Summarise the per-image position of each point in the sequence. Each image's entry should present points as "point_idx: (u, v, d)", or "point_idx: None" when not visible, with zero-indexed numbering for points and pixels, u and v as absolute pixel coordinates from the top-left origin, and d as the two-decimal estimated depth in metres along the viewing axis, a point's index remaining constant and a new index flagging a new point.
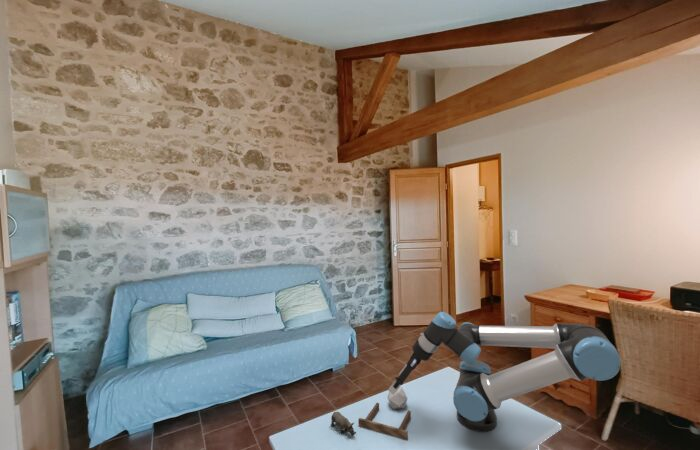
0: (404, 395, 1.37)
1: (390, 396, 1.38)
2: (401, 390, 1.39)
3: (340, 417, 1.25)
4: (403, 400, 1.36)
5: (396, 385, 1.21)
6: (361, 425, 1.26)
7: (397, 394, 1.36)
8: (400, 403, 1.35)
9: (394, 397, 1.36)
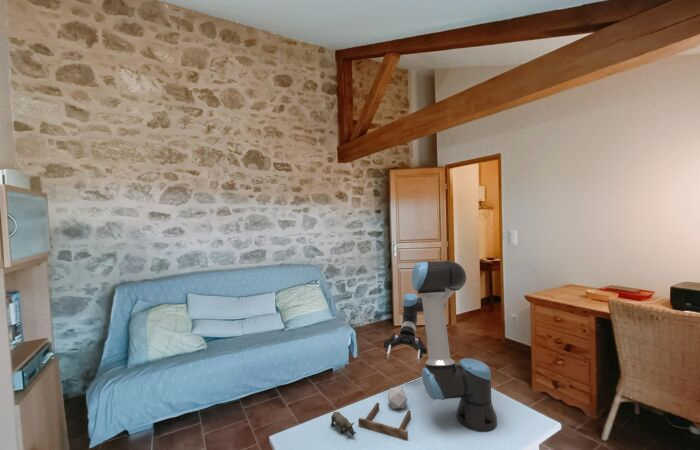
0: (404, 395, 1.37)
1: (390, 396, 1.38)
2: (401, 390, 1.39)
3: (340, 417, 1.25)
4: (403, 400, 1.36)
5: (386, 348, 1.50)
6: (361, 425, 1.26)
7: (397, 394, 1.36)
8: (400, 403, 1.35)
9: (394, 397, 1.36)
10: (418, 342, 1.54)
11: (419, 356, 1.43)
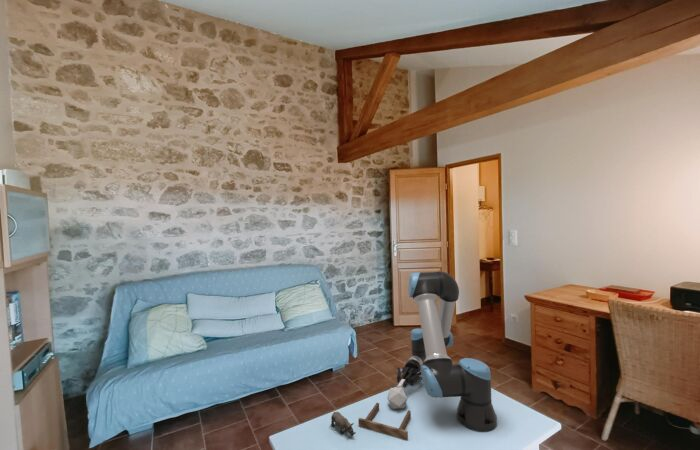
0: (404, 395, 1.37)
1: (390, 396, 1.37)
2: (401, 390, 1.39)
3: (340, 417, 1.25)
4: (403, 400, 1.36)
5: None
6: (361, 425, 1.26)
7: (397, 394, 1.36)
8: (400, 403, 1.35)
9: (394, 397, 1.36)
10: None
11: (402, 384, 1.45)
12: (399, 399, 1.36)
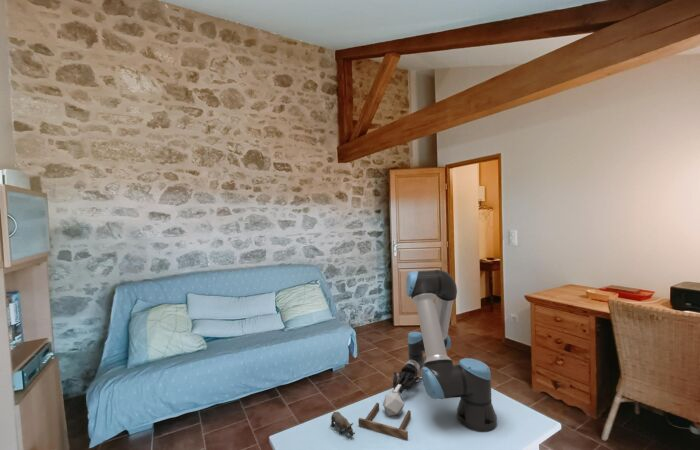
0: (401, 401, 1.33)
1: (387, 403, 1.32)
2: (397, 396, 1.35)
3: (339, 417, 1.25)
4: (400, 406, 1.32)
5: None
6: (361, 425, 1.26)
7: (394, 400, 1.32)
8: (397, 409, 1.31)
9: (391, 404, 1.32)
10: None
11: (398, 390, 1.40)
12: (396, 405, 1.31)
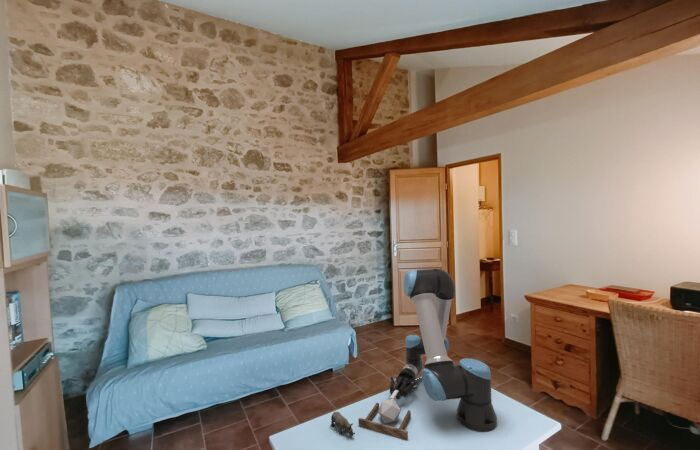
0: (397, 407, 1.29)
1: (383, 410, 1.28)
2: (393, 402, 1.30)
3: (339, 417, 1.25)
4: (397, 412, 1.28)
5: None
6: (361, 425, 1.26)
7: (391, 407, 1.27)
8: (394, 416, 1.26)
9: (388, 411, 1.27)
10: None
11: (395, 396, 1.35)
12: (393, 412, 1.27)
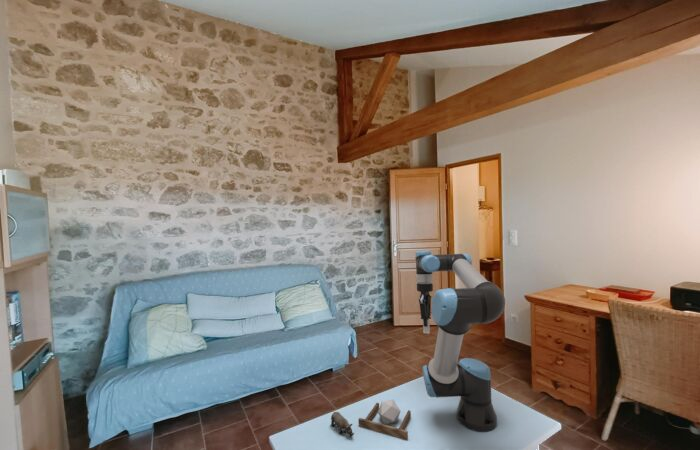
0: (397, 408, 1.29)
1: (383, 411, 1.27)
2: (393, 403, 1.30)
3: (339, 417, 1.25)
4: (396, 413, 1.27)
5: (425, 323, 1.50)
6: (361, 425, 1.26)
7: (390, 408, 1.27)
8: (394, 417, 1.26)
9: (387, 411, 1.26)
10: None
11: None
12: (393, 413, 1.26)
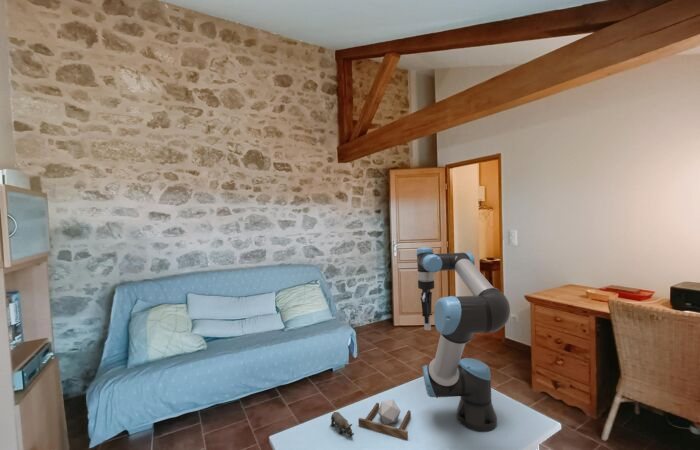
0: (397, 408, 1.29)
1: (383, 411, 1.27)
2: (393, 403, 1.30)
3: (339, 417, 1.25)
4: (396, 413, 1.27)
5: (426, 320, 1.49)
6: (361, 425, 1.26)
7: (390, 408, 1.27)
8: (394, 417, 1.26)
9: (387, 411, 1.26)
10: None
11: None
12: (393, 413, 1.26)
